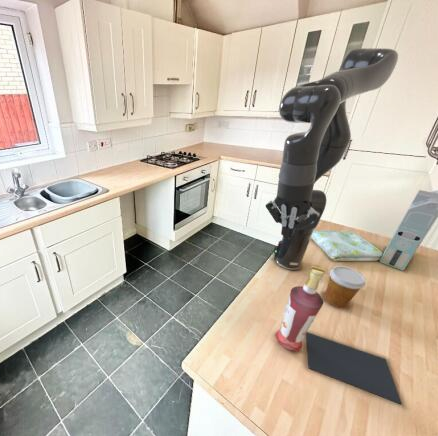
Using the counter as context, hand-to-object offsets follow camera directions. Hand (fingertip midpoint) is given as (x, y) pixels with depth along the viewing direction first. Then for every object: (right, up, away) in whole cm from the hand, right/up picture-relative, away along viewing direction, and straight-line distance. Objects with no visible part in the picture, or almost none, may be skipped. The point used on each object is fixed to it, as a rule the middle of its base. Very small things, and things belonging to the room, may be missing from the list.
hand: (286, 236), depth 67 cm
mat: (+16, -35, -1) cm, 38 cm away
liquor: (+3, -32, +5) cm, 32 cm away
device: (+69, -12, +38) cm, 79 cm away
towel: (+51, -9, +44) cm, 68 cm away
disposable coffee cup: (+27, -24, +18) cm, 41 cm away
